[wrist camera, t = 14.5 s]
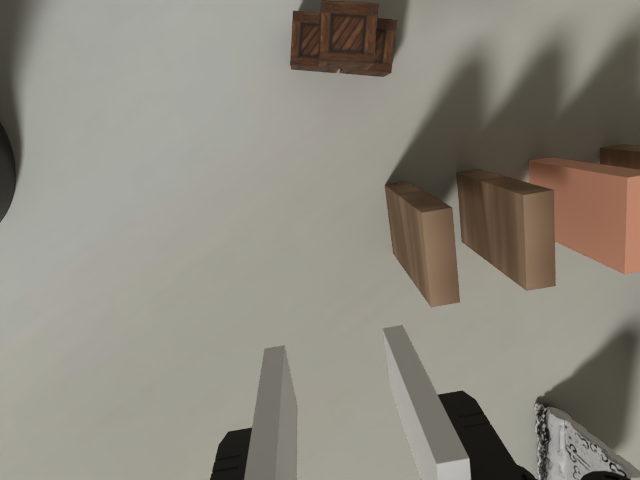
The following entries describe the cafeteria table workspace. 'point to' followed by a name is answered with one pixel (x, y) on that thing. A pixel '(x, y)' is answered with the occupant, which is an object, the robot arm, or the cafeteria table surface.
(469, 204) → the domino
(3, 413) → the cafeteria table surface
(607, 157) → the domino
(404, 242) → the domino
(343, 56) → the stack of crates
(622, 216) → the domino
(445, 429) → the robot arm
